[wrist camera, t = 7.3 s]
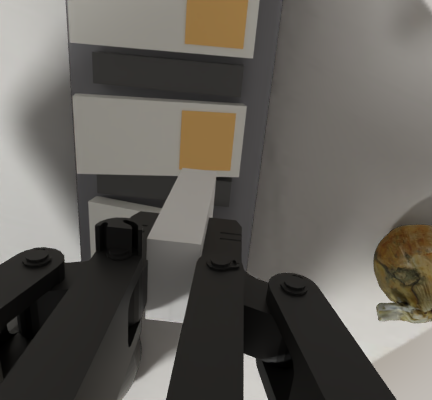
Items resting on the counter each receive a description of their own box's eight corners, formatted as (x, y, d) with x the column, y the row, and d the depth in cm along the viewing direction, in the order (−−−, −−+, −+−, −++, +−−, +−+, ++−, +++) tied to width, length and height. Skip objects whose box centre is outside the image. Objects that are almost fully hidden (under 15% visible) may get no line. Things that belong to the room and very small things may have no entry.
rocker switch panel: (243, 271, 35) (243, 298, 31) (94, 254, 35) (77, 279, 32) (287, -63, 25) (295, -82, 21) (80, -79, 25) (51, -101, 22)
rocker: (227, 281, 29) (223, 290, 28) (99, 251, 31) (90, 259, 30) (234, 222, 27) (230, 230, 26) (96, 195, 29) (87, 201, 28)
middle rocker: (235, 171, 28) (238, 177, 27) (79, 168, 26) (76, 174, 25) (242, 103, 26) (247, 106, 25) (75, 93, 24) (72, 96, 23)
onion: (427, 298, 35) (476, 366, 27) (346, 270, 34) (374, 331, 27) (476, 229, 32) (546, 284, 24) (389, 197, 31) (433, 244, 24)
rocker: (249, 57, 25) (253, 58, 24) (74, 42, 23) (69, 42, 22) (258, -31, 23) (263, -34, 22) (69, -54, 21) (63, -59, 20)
